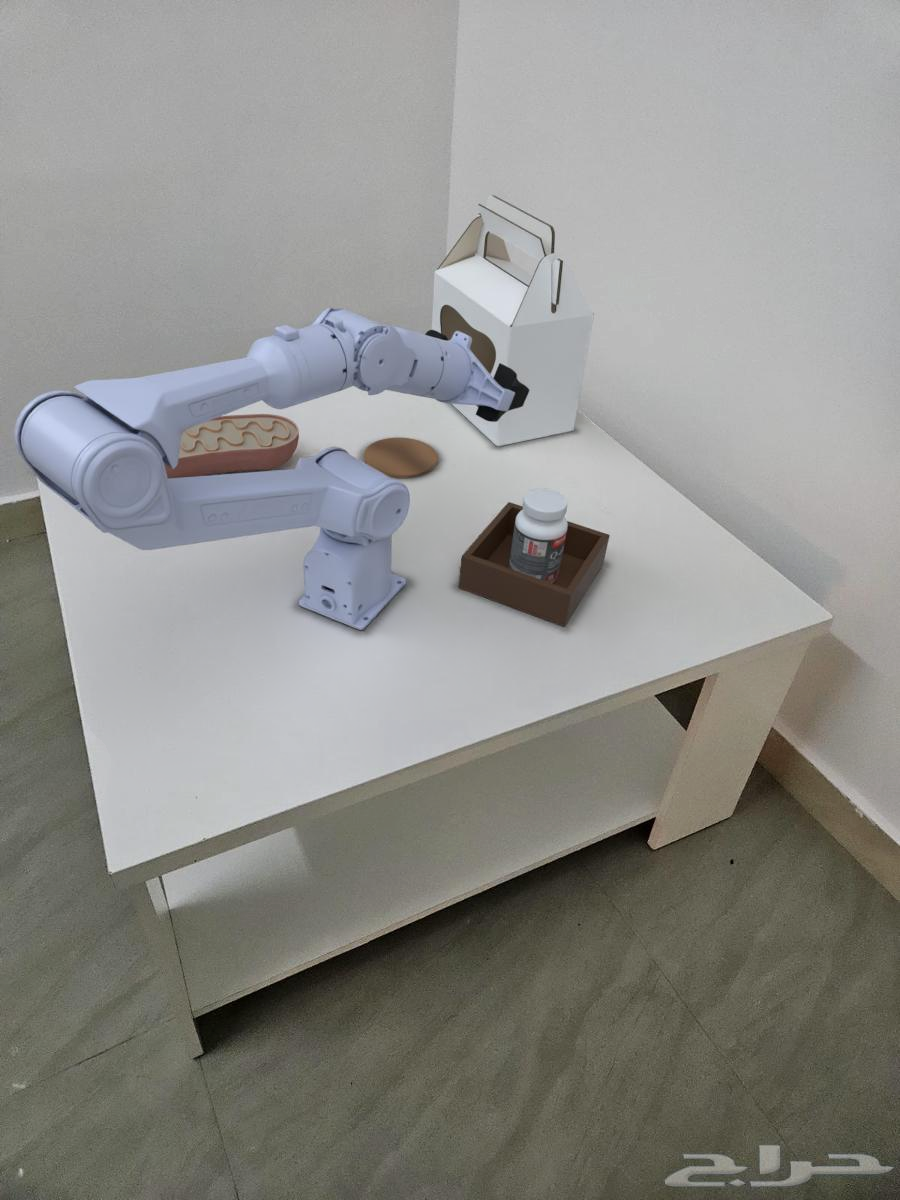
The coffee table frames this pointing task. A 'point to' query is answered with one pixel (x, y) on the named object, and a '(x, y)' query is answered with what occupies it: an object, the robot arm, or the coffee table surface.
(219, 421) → the anatomical model
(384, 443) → the coaster
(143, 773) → the coffee table surface
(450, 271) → the gable box
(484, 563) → the open box
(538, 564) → the pill bottle
